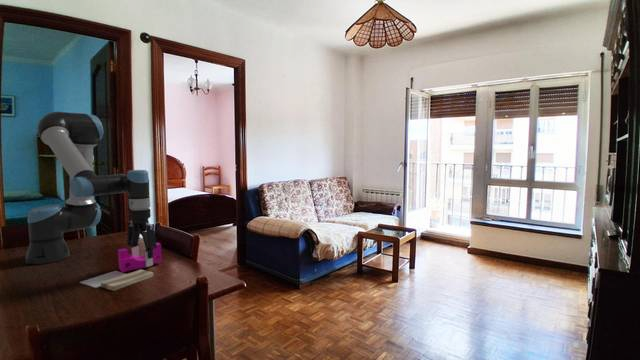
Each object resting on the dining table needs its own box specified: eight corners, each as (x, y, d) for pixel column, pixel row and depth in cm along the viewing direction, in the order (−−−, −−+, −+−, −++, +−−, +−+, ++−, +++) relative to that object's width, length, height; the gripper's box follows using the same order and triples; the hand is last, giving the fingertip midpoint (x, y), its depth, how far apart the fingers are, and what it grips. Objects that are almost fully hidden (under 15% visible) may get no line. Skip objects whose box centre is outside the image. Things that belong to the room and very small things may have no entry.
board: (100, 286, 119) (100, 282, 118) (140, 272, 132) (140, 269, 132) (113, 290, 115) (113, 286, 115) (153, 276, 128) (153, 272, 128)
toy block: (122, 272, 130) (121, 253, 129) (118, 267, 134) (117, 249, 134) (163, 263, 140) (162, 245, 139) (159, 259, 144) (158, 242, 144)
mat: (79, 282, 122) (79, 282, 122) (115, 271, 134) (115, 270, 134) (95, 288, 118) (95, 287, 117) (131, 275, 129) (131, 274, 129)
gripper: (114, 208, 137) (117, 263, 139) (147, 212, 127) (150, 271, 129) (132, 205, 143) (135, 257, 145) (165, 209, 134) (167, 265, 136)
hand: (142, 264), depth 137 cm, fingers closed on toy block, 8 cm apart
